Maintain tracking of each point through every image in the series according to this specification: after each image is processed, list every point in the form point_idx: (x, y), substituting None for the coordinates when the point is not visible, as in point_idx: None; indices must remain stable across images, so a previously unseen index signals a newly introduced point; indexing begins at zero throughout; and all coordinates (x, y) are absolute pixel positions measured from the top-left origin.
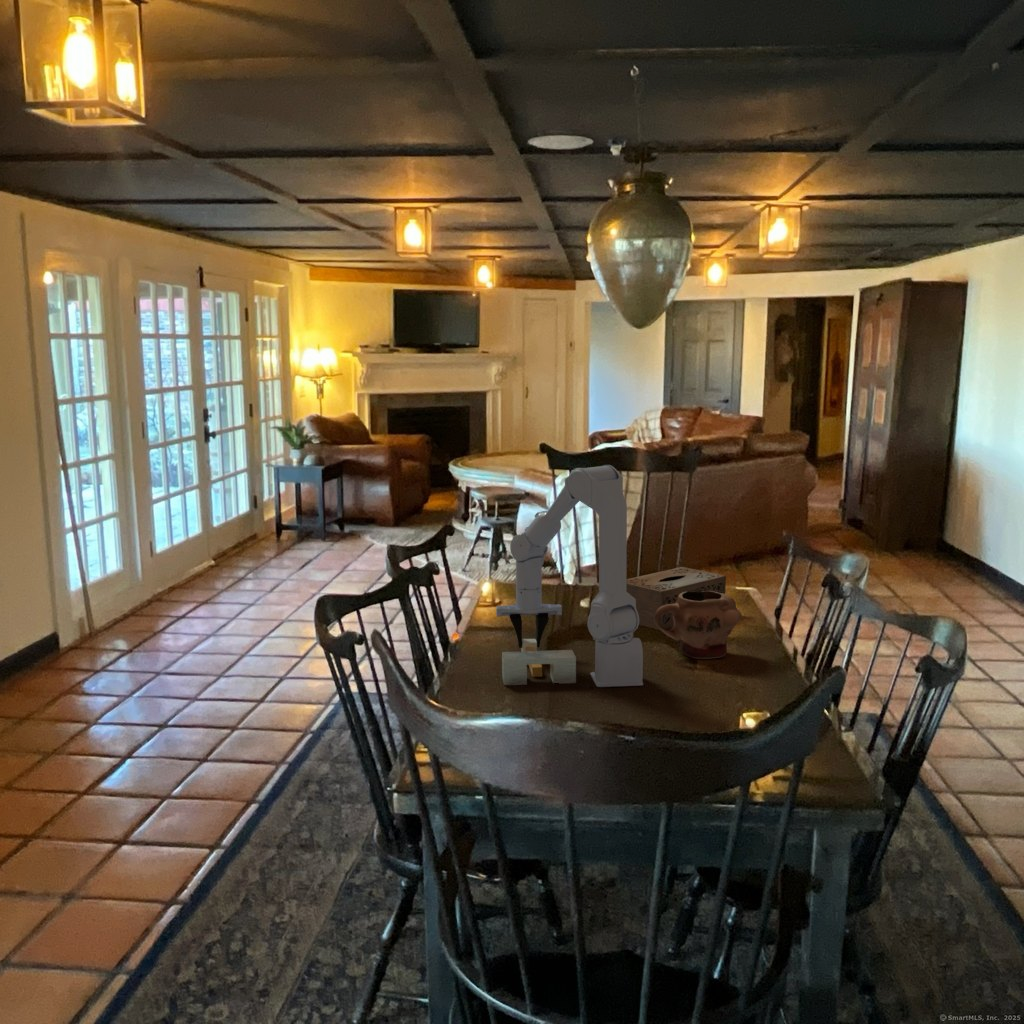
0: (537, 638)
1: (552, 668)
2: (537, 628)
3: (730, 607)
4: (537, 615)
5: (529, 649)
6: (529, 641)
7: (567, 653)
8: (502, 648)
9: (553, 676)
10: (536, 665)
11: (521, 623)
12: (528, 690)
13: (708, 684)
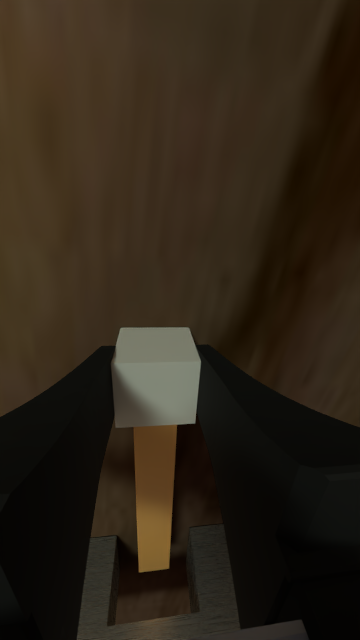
0: (204, 430)
1: (192, 604)
2: (221, 487)
3: None
4: (286, 594)
5: (149, 435)
6: (157, 405)
7: None
8: (14, 254)
9: (188, 588)
10: (153, 560)
11: (74, 612)
12: (121, 590)
13: None
